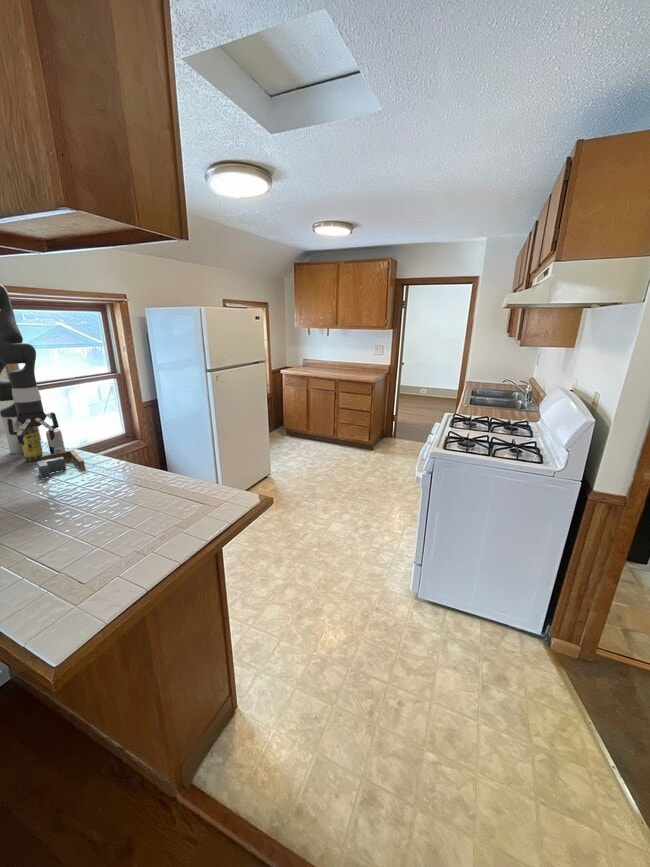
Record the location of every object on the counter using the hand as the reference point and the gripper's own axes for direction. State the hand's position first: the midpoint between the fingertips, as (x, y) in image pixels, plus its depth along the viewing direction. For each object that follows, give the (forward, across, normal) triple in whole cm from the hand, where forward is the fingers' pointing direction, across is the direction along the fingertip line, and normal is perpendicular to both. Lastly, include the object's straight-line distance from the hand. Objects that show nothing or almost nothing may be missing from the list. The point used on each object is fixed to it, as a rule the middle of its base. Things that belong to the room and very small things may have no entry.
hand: (37, 442), depth 129 cm
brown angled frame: (+14, -7, -6) cm, 17 cm away
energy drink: (+14, -8, -23) cm, 28 cm away
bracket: (+14, -3, -2) cm, 14 cm away
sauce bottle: (+14, 0, -26) cm, 30 cm away
